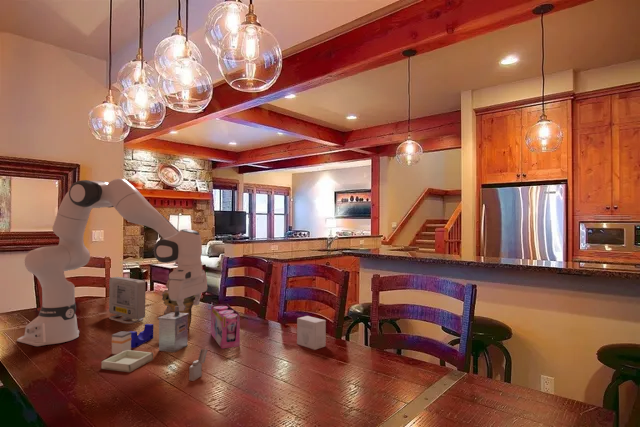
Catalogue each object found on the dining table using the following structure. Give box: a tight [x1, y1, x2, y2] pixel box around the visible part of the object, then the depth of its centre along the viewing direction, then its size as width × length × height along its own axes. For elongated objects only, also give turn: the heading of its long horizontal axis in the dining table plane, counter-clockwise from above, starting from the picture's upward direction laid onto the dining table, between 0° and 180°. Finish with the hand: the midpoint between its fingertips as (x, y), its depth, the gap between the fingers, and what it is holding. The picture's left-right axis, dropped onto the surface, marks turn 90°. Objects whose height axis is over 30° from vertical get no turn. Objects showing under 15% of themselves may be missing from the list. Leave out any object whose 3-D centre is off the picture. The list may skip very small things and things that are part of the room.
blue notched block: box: [128, 323, 154, 349], centre depth 151 cm, size 12×4×6 cm, turn 170°
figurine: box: [161, 278, 172, 315], centre depth 200 cm, size 9×8×20 cm
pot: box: [162, 293, 195, 331], centre depth 168 cm, size 17×11×18 cm, turn 143°
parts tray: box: [101, 349, 154, 373], centre depth 129 cm, size 11×11×2 cm
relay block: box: [111, 330, 132, 355], centre depth 140 cm, size 5×5×7 cm
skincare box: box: [296, 315, 327, 351], centre depth 149 cm, size 10×6×10 cm, turn 47°
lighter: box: [188, 348, 208, 382], centre depth 119 cm, size 7×2×8 cm, turn 162°
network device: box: [108, 276, 147, 324], centre depth 186 cm, size 26×9×20 cm, turn 58°
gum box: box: [210, 303, 241, 350], centre depth 154 cm, size 22×7×13 cm, turn 28°
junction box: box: [157, 306, 189, 353], centre depth 145 cm, size 8×9×16 cm
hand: (189, 307), depth 143 cm, fingers open, 8 cm apart
